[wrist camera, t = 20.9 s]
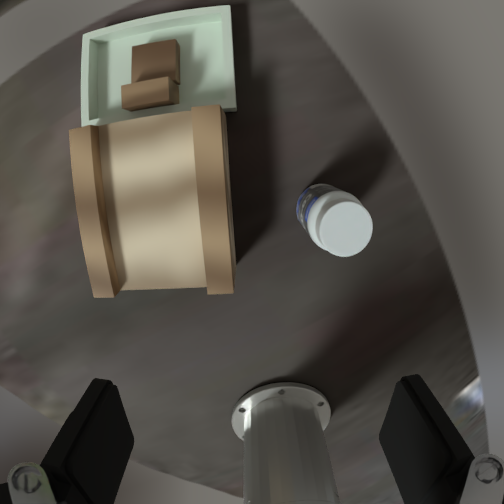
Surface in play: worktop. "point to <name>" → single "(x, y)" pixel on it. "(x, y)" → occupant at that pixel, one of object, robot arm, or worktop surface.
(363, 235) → the pill bottle
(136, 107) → the walnut chip
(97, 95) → the tray
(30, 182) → the worktop surface
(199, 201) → the slot block
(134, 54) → the walnut chip
